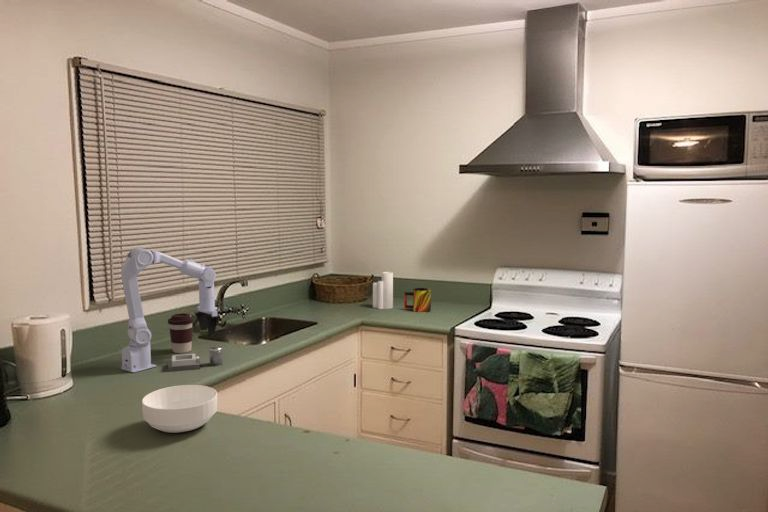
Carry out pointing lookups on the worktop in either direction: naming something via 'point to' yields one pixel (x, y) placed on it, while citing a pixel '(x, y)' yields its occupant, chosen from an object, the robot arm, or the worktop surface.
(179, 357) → the camera body
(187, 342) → the coffee cup
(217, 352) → the lens
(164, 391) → the bowl
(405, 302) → the mug
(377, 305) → the vase
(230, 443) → the worktop surface
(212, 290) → the robot arm
